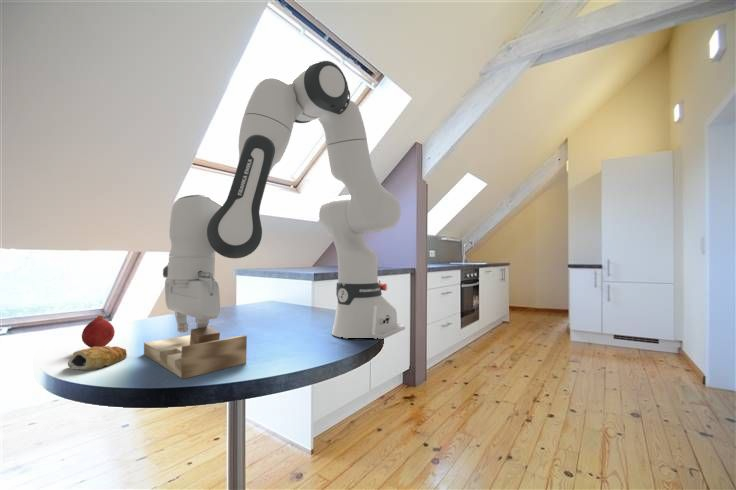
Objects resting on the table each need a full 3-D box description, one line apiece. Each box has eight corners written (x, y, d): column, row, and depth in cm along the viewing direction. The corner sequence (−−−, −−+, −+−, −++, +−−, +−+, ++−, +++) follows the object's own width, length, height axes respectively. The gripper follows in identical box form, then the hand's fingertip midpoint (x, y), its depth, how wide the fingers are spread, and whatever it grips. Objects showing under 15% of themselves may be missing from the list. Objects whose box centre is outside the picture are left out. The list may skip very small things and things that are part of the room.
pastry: (111, 356, 75) (111, 338, 75) (136, 358, 73) (136, 340, 73) (63, 370, 66) (64, 350, 66) (90, 374, 64) (90, 353, 64)
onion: (85, 355, 74) (86, 318, 74) (78, 351, 78) (79, 315, 78) (117, 349, 79) (118, 314, 79) (109, 345, 82) (110, 311, 83)
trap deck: (200, 343, 84) (200, 321, 85) (246, 363, 70) (246, 335, 70) (143, 354, 75) (144, 329, 76) (183, 378, 61) (183, 347, 61)
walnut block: (209, 344, 72) (211, 326, 71) (218, 351, 69) (219, 332, 69) (189, 348, 69) (191, 329, 68) (197, 356, 66) (199, 336, 66)
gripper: (229, 272, 69) (228, 341, 69) (189, 268, 83) (187, 326, 83) (196, 273, 65) (195, 347, 64) (159, 269, 78) (158, 330, 78)
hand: (190, 335), depth 74 cm, fingers open, 8 cm apart
